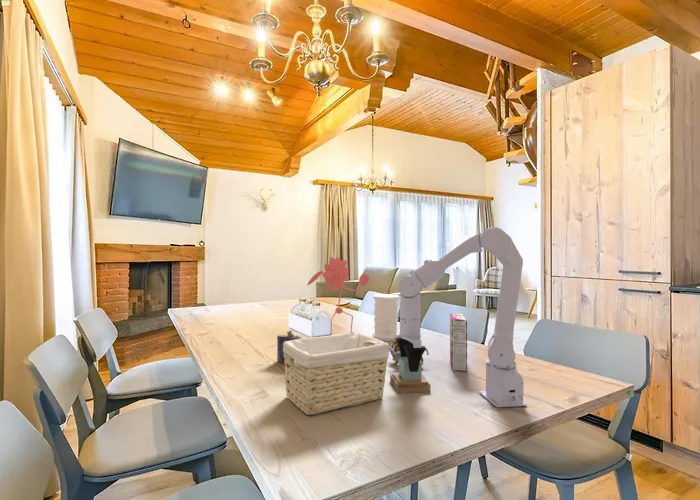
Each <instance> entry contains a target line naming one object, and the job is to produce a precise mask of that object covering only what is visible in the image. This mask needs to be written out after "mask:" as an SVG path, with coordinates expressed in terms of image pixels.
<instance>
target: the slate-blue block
mask: <svg viewBox="0 0 700 500" xmlns="http://www.w3.org/2000/svg"><path fill="white" fill-rule="evenodd" d="M422 367H423V364H422V362H421V361H420V365H419V369H418V372H410V370H409V365H408V357H399V366H398V373H399V375H400V376H401V378H402V379H403V380H404V381H409V380H422V376H423V373H422V370H423V369H422Z"/></svg>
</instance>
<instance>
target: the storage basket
mask: <svg viewBox="0 0 700 500" xmlns="http://www.w3.org/2000/svg"><path fill="white" fill-rule="evenodd" d="M389 349H390V344H389V343H388V342H386V341H385V342H384V340H378V339H375V338H373V337H372V336H370V335H368V334H367V335H366V334H363V333H360V332H357V333H355V332H353V334H349V333H341V334H338V333H337V334H332V335H331V334H330V335H322V336H314V337H304V338H302V337H301V339H296V340H290V341H285V342H284V343H283V352H284V358H285V361H284V363H283V364H284V368H285V369H284V373H285V390H286V391H285V393H286V397H287V399H289V400H290V401H291V402H292V403H293V404H294V405H295V406H296V407H297V408H298V409H300V410H301V411H302V412H303V413H305V414H306V415H308V416H313V415H319V414H321V413H325V412H326V413H327V412H329V411H335V410H338V409H340V408H347V407H353V406H359V405H362V404H366V403H368V402H373V401H377V400H381V399H383V398H384V387H385V383H386V374H387V365H388V359H389V355H390V351H389Z"/></svg>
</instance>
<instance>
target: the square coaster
mask: <svg viewBox="0 0 700 500" xmlns="http://www.w3.org/2000/svg"><path fill="white" fill-rule="evenodd" d="M389 379H390V380H389V382H390V383H391V384H392V387H394V389H395V391H396V393H398V394H402V393H403V394H404V393H405V394H406V393H407V394H409V393H427V392H429V393H431V383H430V381H428V380H427V379H426V378H425V376H423V375H422V380H409V381H404V380H403V379H402V378H401V376H400V375H399V372H392V373H390V375H389Z"/></svg>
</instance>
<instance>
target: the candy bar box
mask: <svg viewBox="0 0 700 500" xmlns="http://www.w3.org/2000/svg"><path fill="white" fill-rule="evenodd" d="M449 359H450V365H451V366H450V367H451V370H452V371H453V372H468V319H467V317H466V315H465V314H464V313H452V312H451V313H449Z"/></svg>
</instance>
